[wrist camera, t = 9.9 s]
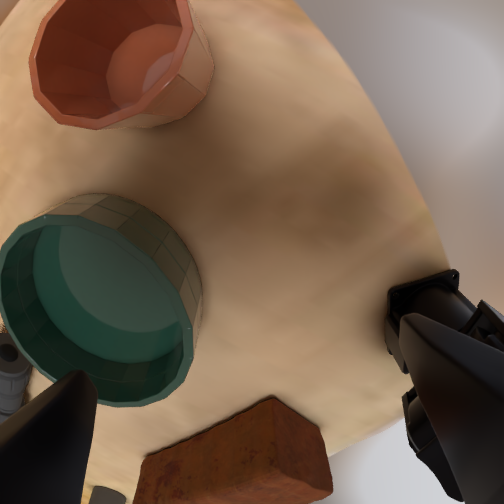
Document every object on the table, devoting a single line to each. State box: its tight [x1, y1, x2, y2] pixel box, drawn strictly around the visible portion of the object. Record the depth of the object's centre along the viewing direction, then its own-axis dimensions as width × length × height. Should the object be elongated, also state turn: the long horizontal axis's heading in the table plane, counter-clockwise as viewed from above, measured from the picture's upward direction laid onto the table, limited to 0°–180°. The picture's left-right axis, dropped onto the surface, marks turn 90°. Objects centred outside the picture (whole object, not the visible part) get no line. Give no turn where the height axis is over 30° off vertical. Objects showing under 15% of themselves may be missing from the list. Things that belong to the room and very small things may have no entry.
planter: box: [0, 193, 202, 408], centre depth 19 cm, size 14×14×5 cm
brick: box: [133, 399, 333, 504], centre depth 25 cm, size 20×8×8 cm, turn 131°
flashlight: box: [0, 333, 32, 424], centre depth 23 cm, size 15×5×5 cm, turn 146°
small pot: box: [29, 0, 214, 130], centre depth 12 cm, size 7×7×8 cm
